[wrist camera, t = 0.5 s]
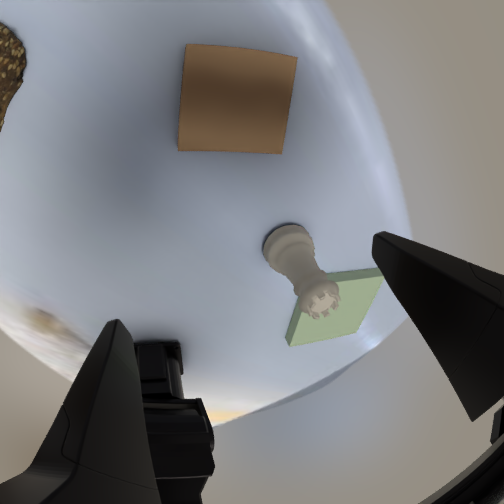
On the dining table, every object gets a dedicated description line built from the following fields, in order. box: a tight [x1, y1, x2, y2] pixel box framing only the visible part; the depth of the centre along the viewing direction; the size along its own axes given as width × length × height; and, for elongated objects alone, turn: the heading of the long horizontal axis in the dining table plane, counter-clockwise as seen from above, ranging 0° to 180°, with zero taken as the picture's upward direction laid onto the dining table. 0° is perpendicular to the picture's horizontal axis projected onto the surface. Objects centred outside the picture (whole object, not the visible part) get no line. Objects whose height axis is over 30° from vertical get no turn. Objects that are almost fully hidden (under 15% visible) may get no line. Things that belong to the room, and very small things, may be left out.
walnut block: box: [178, 44, 298, 154], centre depth 17 cm, size 7×7×2 cm
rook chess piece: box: [263, 225, 341, 319], centre depth 22 cm, size 4×4×8 cm
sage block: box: [285, 268, 384, 347], centre depth 33 cm, size 10×10×2 cm
